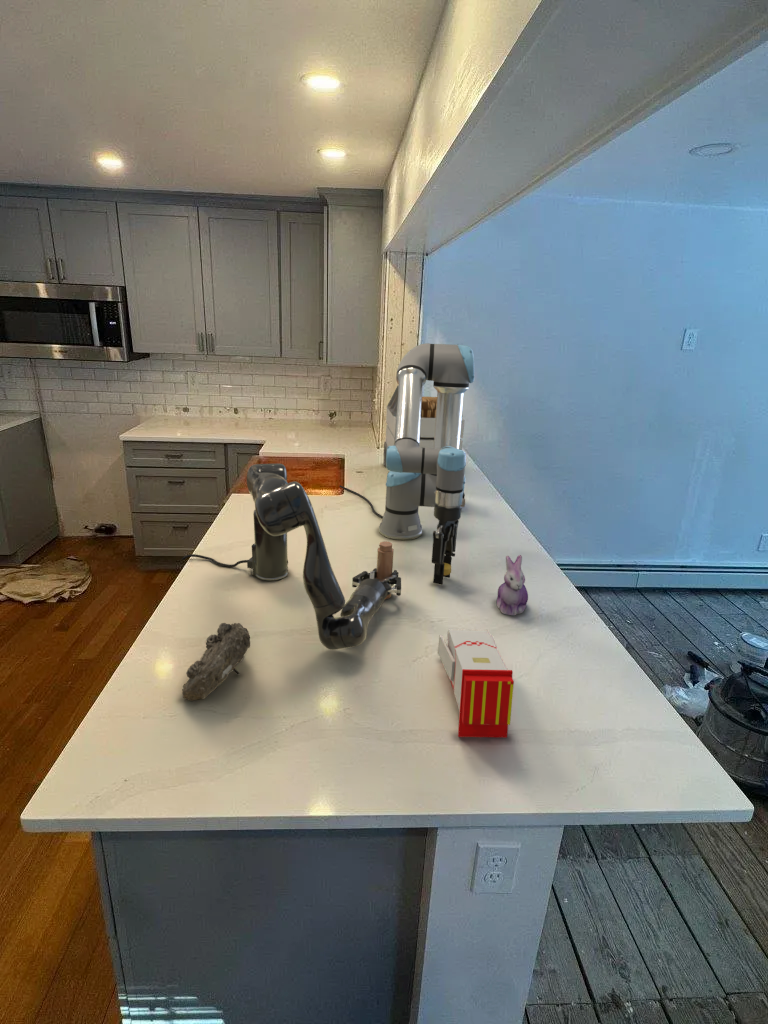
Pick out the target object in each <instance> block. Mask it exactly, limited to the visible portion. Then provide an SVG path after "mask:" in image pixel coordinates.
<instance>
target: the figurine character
mask: <svg viewBox="0 0 768 1024" xmlns="http://www.w3.org/2000/svg"><path fill="white" fill-rule="evenodd" d="M465 496H466V494H465V492H463V497H462V504H461V505H460V506H461V508H465V505H466V497H465Z"/></svg>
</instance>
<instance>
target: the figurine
mask: <svg viewBox="0 0 768 1024" xmlns="http://www.w3.org/2000/svg"><path fill="white" fill-rule="evenodd" d="M522 562H523V555H522V554H519V555H518V556H517V557H516V559H515V561H513V560H512V558H511V556H509V555H506V556H505V566H506V567H505V569H506V571H505V573H504V576H503V581H504V582H502V584H500V585H499V586H498V589H497V598H496V607H497V608H498V610H500V612H501V614H503V615H508V616H516V615H518V614H523V612H524V611H525V610H526V607H527V603H528V601H529V594H528V590H527V587H526V585H525V583H526V576H525V574H524V571H523V569H522V564H523V563H522Z"/></svg>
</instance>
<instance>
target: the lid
mask: <svg viewBox="0 0 768 1024" xmlns="http://www.w3.org/2000/svg"><path fill="white" fill-rule="evenodd" d="M449 574H450V575H451V574H452V564H451V565H450V564H448V563H445V565H444V575H449Z"/></svg>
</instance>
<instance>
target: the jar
mask: <svg viewBox="0 0 768 1024" xmlns="http://www.w3.org/2000/svg"><path fill="white" fill-rule="evenodd" d="M394 551H395V550H394V548H393V542H391V541H380V542H379V544H378V547H377V553H376V568H377V574H376V578H377V579H384V578H385V577H389V576H391V574H392V573H393V571H394ZM391 588H393V586H392V587H391ZM391 597H392V593H390V594H389V595H387V596H386V598H385V600H388V599H390V598H391Z"/></svg>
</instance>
